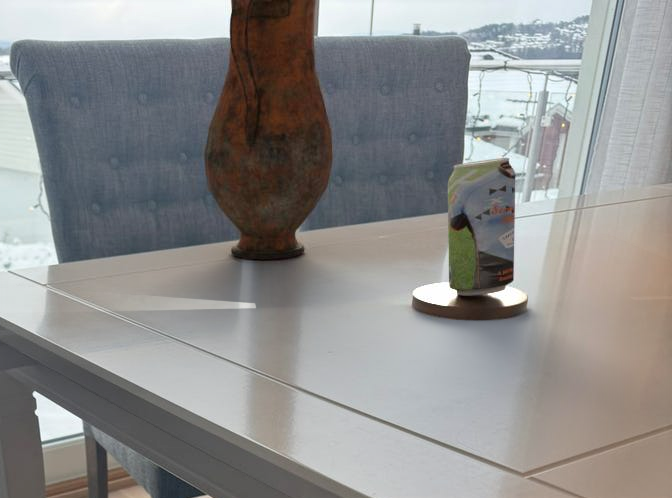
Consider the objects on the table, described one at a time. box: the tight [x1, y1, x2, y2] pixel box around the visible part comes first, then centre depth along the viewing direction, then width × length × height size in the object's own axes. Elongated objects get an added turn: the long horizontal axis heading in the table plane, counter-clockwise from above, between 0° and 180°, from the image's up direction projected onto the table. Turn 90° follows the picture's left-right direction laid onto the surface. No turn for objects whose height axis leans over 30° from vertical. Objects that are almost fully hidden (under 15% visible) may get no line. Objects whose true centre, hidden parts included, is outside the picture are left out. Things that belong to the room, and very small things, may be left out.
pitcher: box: [203, 0, 334, 261], centre depth 117 cm, size 17×21×30 cm
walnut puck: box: [411, 282, 529, 321], centre depth 92 cm, size 11×11×3 cm
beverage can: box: [447, 157, 516, 296], centre depth 88 cm, size 6×7×12 cm
